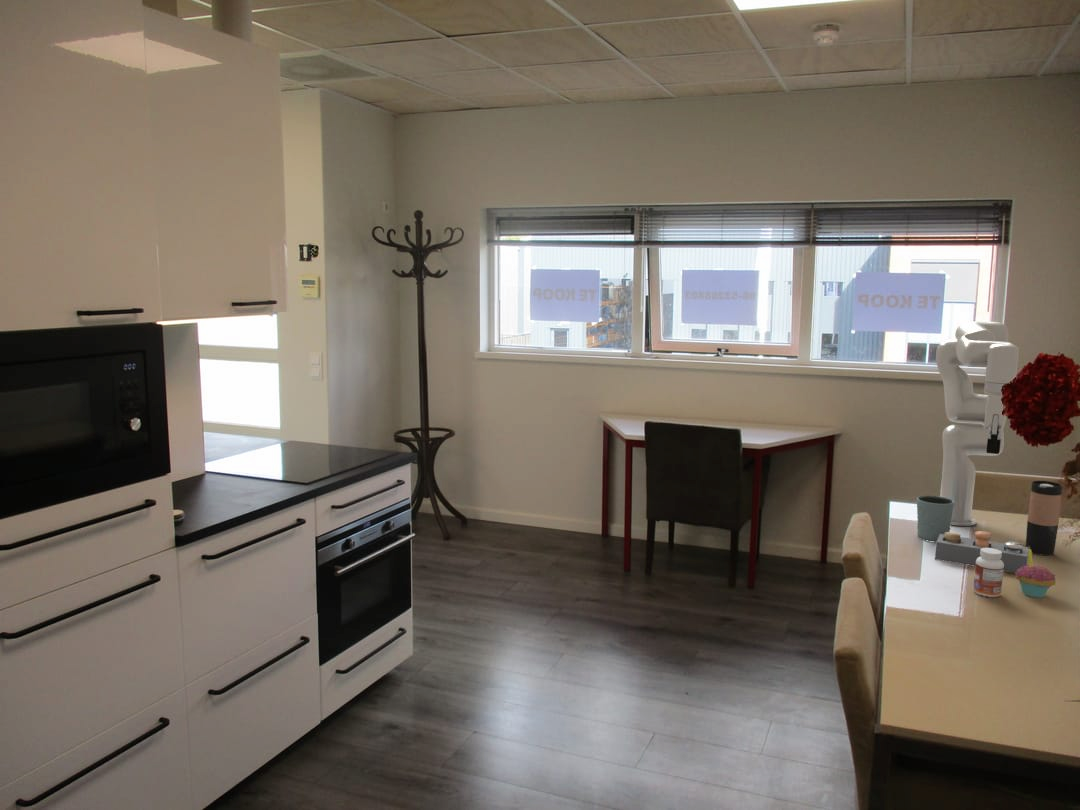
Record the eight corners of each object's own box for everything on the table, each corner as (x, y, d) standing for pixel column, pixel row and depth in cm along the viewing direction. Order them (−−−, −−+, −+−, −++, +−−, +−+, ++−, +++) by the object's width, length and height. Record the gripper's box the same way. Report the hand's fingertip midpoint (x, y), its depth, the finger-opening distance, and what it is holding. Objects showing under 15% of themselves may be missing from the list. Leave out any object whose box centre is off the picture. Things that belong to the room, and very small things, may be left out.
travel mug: (1046, 547, 245) (1054, 481, 242) (1060, 556, 238) (1068, 487, 235) (1019, 546, 246) (1026, 480, 243) (1031, 554, 239) (1039, 486, 236)
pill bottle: (972, 587, 213) (977, 545, 211) (1000, 591, 210) (1004, 548, 208) (972, 595, 207) (977, 552, 206) (1001, 599, 204) (1005, 556, 203)
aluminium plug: (1003, 561, 231) (1005, 540, 230) (1020, 564, 229) (1022, 543, 228) (1002, 565, 227) (1005, 544, 226) (1019, 568, 225) (1022, 547, 224)
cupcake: (1014, 596, 207) (1019, 549, 205) (1013, 585, 214) (1018, 540, 212) (1054, 603, 203) (1060, 555, 201) (1052, 591, 210) (1057, 545, 209)
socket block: (938, 550, 241) (939, 533, 240) (1026, 564, 230) (1028, 547, 229) (934, 559, 233) (936, 541, 233) (1025, 574, 222) (1027, 556, 222)
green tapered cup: (956, 543, 248) (960, 504, 246) (922, 542, 248) (925, 503, 246) (941, 533, 258) (944, 495, 256) (908, 532, 258) (911, 494, 256)
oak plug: (943, 551, 238) (945, 531, 237) (959, 554, 236) (961, 533, 235) (941, 555, 235) (943, 534, 234) (957, 558, 233) (959, 537, 232)
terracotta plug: (973, 550, 234) (975, 529, 233) (989, 553, 232) (991, 532, 231) (972, 554, 231) (974, 533, 230) (988, 557, 229) (991, 536, 228)
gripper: (986, 384, 242) (979, 447, 244) (982, 390, 229) (975, 456, 232) (1015, 386, 238) (1009, 450, 241) (1013, 392, 225) (1006, 459, 228)
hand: (992, 452), depth 236 cm, fingers closed
